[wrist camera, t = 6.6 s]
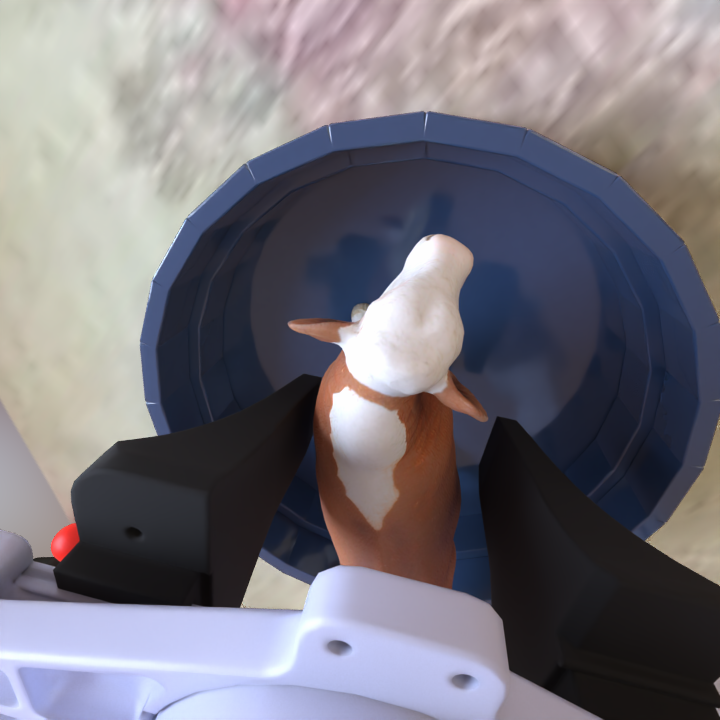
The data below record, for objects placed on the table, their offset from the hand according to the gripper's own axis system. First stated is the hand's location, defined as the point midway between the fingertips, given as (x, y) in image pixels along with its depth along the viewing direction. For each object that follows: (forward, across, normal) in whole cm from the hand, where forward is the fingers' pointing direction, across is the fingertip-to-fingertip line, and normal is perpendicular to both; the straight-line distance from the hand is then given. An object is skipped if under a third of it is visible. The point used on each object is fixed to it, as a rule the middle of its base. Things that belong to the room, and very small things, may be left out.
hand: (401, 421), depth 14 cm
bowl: (+4, 0, 0) cm, 4 cm away
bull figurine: (+3, 0, 0) cm, 4 cm away
